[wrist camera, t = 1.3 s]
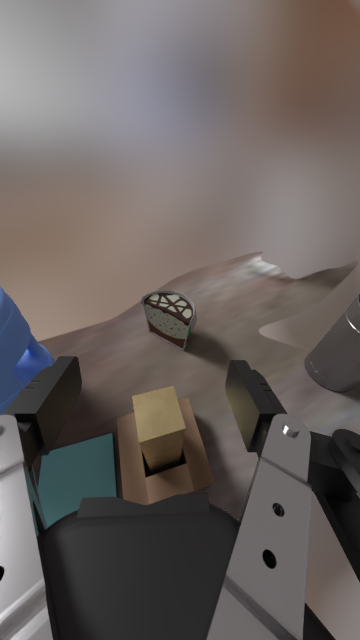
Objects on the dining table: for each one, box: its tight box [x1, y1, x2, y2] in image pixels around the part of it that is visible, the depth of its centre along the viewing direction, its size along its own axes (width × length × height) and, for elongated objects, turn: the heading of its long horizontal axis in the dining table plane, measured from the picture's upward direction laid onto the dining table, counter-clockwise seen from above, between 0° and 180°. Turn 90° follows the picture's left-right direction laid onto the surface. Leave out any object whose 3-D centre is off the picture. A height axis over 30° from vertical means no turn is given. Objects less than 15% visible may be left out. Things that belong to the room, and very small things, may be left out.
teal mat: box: [38, 433, 117, 527], centre depth 29 cm, size 10×10×1 cm
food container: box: [141, 290, 197, 351], centre depth 45 cm, size 12×6×10 cm, turn 57°
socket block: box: [116, 398, 215, 505], centre depth 30 cm, size 11×11×5 cm
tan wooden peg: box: [132, 386, 186, 475], centre depth 25 cm, size 4×4×18 cm
